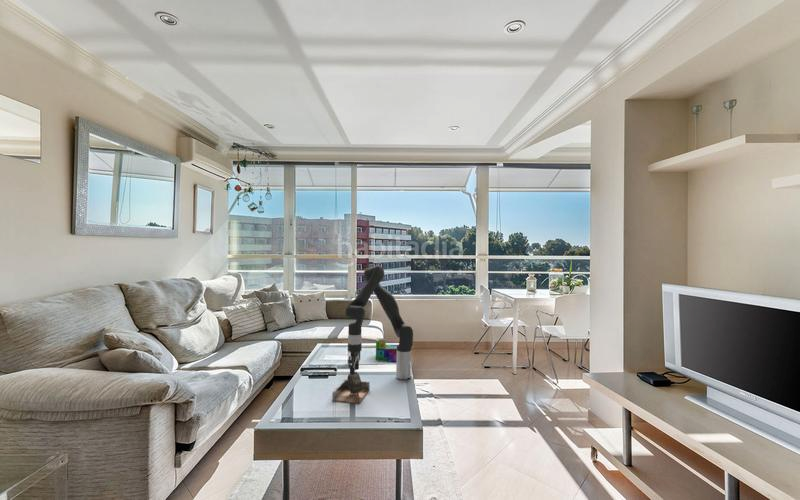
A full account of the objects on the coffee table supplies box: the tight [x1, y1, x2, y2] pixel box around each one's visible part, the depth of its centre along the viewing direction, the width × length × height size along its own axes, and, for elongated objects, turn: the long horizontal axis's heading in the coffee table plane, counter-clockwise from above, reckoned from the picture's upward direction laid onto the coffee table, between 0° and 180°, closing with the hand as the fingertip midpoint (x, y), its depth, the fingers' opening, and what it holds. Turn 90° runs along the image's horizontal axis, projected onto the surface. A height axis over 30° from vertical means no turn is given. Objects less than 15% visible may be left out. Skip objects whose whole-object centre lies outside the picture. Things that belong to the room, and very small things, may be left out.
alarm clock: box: [346, 366, 362, 397], centre depth 209 cm, size 11×5×16 cm, turn 28°
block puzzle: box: [375, 337, 398, 363], centre depth 280 cm, size 25×17×14 cm
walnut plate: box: [331, 388, 370, 405], centre depth 210 cm, size 15×19×1 cm
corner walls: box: [331, 379, 370, 400], centre depth 210 cm, size 15×19×4 cm
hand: (354, 371), depth 210 cm, fingers open, 7 cm apart
